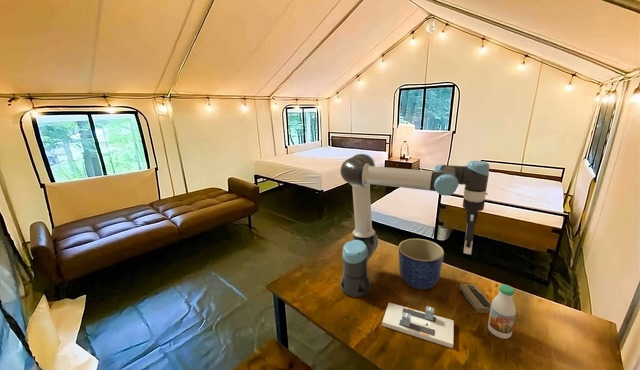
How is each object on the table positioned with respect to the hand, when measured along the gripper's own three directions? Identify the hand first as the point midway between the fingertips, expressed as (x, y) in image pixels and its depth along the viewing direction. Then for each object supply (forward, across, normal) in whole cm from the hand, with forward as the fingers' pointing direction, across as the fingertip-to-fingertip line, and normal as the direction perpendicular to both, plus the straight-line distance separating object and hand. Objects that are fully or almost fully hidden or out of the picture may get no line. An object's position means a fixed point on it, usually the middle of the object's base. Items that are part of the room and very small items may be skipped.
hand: (468, 245), depth 112 cm
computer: (+28, +2, -6) cm, 28 cm away
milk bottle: (+27, -14, -14) cm, 33 cm away
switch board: (+27, -25, +14) cm, 40 cm away
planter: (+27, +3, +19) cm, 34 cm away
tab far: (+25, -21, +11) cm, 34 cm away
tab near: (+25, -29, +18) cm, 42 cm away
